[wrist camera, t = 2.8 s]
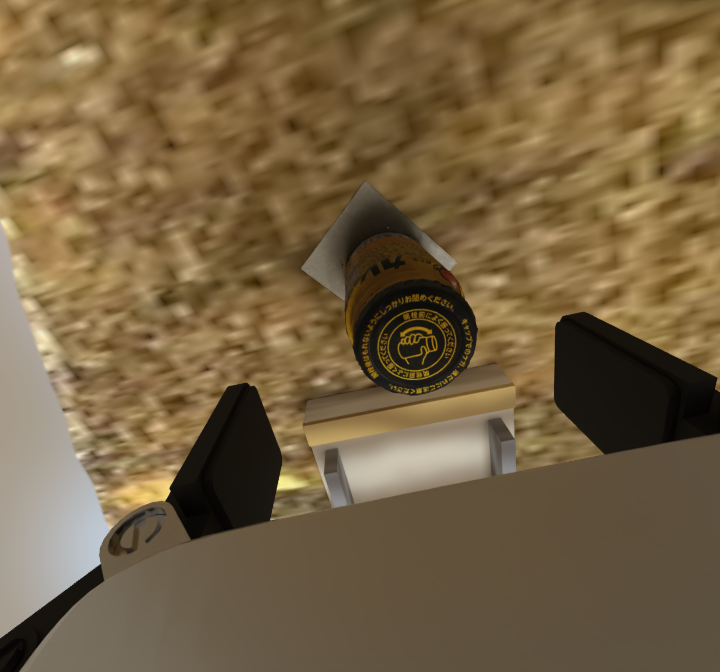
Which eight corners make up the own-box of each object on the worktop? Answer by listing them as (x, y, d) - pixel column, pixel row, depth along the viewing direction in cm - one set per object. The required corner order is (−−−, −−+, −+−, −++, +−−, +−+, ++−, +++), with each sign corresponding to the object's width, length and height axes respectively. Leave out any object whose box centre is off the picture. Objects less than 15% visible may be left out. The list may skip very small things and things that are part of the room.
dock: (307, 400, 29) (296, 461, 23) (496, 363, 28) (540, 416, 22) (352, 539, 36) (353, 615, 30) (504, 513, 36) (538, 585, 29)
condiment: (390, 334, 27) (420, 438, 16) (300, 268, 25) (264, 337, 14) (456, 261, 25) (542, 323, 14) (365, 180, 22) (382, 179, 12)
